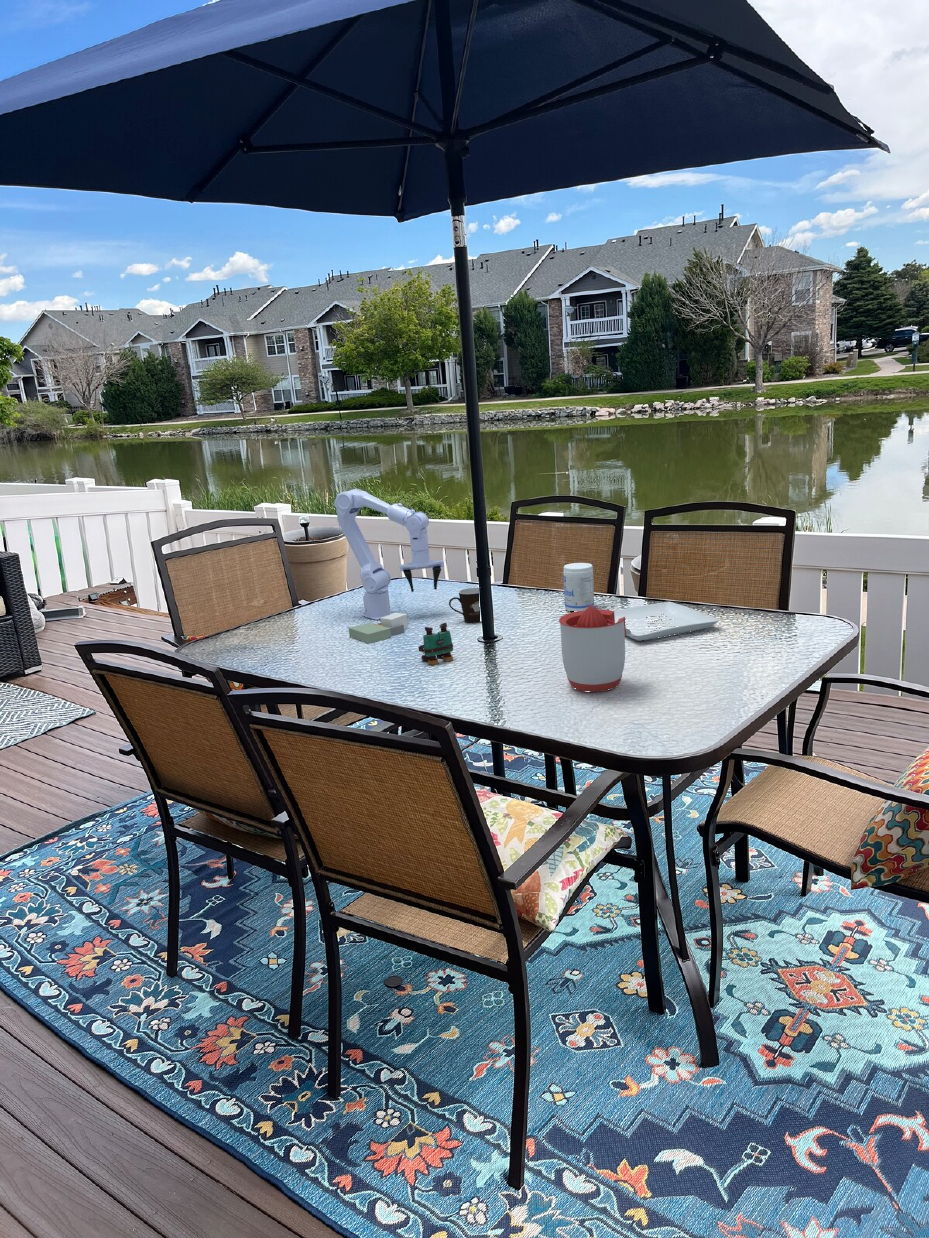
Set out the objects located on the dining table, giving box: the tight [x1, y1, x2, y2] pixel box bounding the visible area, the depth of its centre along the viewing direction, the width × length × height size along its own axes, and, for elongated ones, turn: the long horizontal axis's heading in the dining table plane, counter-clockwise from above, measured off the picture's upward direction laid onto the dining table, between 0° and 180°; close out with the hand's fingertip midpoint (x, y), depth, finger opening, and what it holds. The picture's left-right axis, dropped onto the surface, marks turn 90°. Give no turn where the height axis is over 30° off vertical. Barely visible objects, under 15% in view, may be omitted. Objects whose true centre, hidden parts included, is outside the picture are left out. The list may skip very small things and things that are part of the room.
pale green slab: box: [348, 621, 405, 644], centre depth 263 cm, size 12×14×3 cm
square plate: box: [613, 601, 720, 642], centre depth 245 cm, size 27×27×4 cm
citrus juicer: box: [558, 605, 631, 692], centre depth 200 cm, size 16×17×20 cm
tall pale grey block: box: [379, 612, 409, 631], centre depth 266 cm, size 5×7×5 cm
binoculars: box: [418, 622, 454, 666], centre depth 232 cm, size 9×11×10 cm
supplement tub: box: [562, 562, 595, 612], centre depth 271 cm, size 10×10×15 cm
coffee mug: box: [448, 587, 481, 624], centre depth 269 cm, size 12×9×10 cm
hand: (424, 590), depth 277 cm, fingers open, 7 cm apart
